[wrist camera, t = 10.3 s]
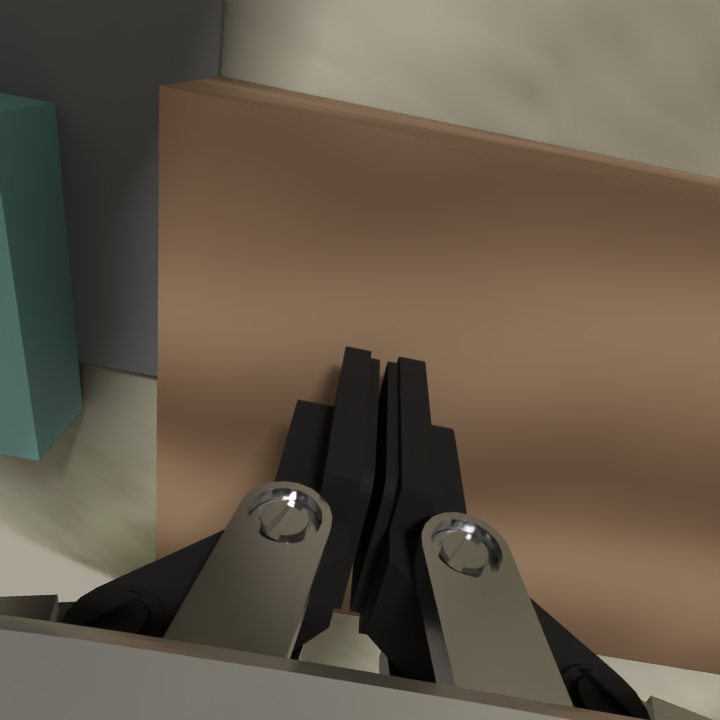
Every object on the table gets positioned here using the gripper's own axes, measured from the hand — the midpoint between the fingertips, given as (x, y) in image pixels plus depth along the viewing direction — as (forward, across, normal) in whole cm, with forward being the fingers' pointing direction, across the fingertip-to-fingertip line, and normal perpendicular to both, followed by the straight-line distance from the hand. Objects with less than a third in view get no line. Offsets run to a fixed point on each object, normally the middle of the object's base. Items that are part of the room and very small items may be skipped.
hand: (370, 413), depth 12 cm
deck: (+5, -6, +1) cm, 8 cm away
